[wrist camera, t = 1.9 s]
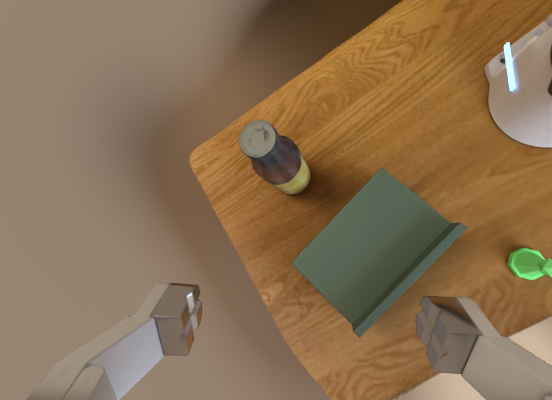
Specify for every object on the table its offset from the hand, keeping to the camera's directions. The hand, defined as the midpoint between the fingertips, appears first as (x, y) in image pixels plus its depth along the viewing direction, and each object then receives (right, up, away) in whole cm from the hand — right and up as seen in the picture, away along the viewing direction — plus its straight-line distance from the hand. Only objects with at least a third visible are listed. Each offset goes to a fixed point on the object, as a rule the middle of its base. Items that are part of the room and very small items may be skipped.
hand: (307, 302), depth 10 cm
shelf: (+13, -3, +33) cm, 36 cm away
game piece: (+34, -5, +29) cm, 44 cm away
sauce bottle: (+2, +8, +37) cm, 38 cm away
